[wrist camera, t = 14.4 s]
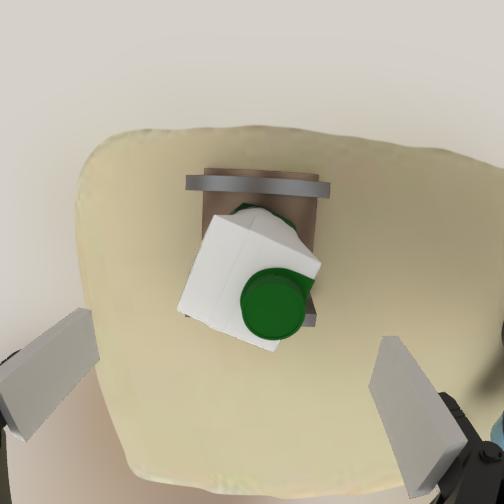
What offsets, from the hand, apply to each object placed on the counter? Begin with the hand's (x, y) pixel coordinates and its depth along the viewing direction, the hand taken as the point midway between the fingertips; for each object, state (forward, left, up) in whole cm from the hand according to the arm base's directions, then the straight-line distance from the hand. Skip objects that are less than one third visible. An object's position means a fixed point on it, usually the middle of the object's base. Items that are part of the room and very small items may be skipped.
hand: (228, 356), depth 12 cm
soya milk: (0, 0, -27) cm, 27 cm away
